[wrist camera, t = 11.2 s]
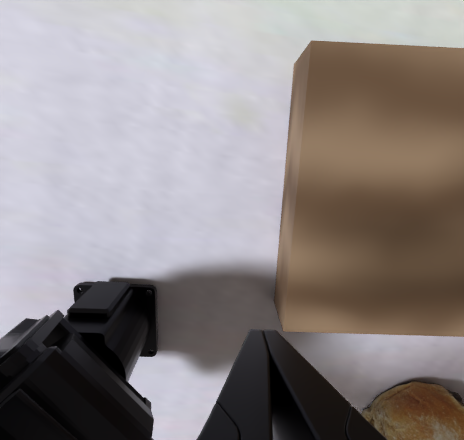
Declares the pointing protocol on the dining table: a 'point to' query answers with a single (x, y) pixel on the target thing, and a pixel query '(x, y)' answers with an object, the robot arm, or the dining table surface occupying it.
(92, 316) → the robot arm
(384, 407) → the bread roll
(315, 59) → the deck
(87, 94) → the dining table surface
